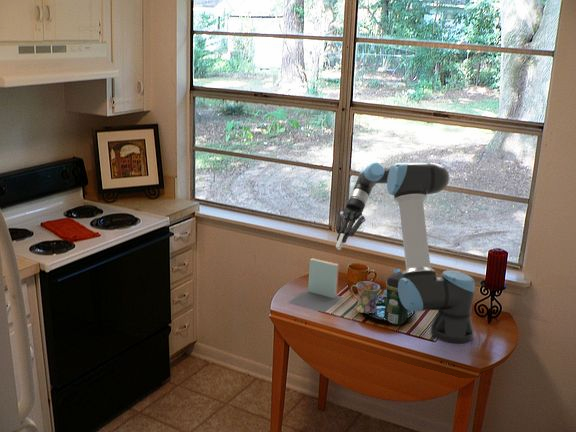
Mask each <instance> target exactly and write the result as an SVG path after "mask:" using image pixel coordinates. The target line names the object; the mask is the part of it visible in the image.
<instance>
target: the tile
mask: <svg viewBox="0 0 576 432" xmlns="http://www.w3.org/2000/svg"><path fill="white" fill-rule="evenodd" d="M339 266H340V264H339V263H335V262H331V261H327V260H322V259H318V258H313V257H312V258H310V259H309V268H308V282H307V283H308V285H307V286H308V288H307V289H308V292H312V293H316V294H320V295H324V296H328V297H331V298H335V297H336V296H338V295H337V294H338V281H339Z"/></svg>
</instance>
